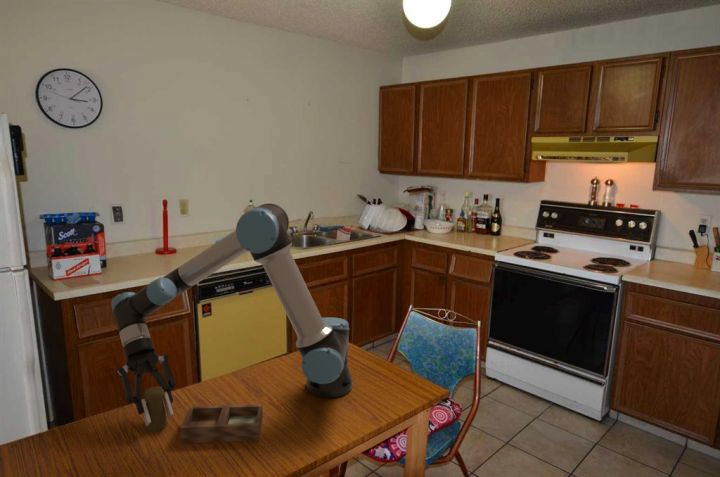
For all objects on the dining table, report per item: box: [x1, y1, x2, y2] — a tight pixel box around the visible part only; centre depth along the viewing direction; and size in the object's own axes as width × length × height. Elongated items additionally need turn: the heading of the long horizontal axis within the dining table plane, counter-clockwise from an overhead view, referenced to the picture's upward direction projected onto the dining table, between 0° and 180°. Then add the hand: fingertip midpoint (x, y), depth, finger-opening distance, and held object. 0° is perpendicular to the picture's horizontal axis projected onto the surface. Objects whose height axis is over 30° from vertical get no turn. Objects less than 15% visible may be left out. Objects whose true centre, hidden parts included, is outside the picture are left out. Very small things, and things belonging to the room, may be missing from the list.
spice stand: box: [179, 403, 264, 444], centre depth 124 cm, size 20×10×4 cm, turn 96°
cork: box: [143, 385, 168, 433], centre depth 125 cm, size 6×6×11 cm
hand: (160, 419), depth 122 cm, fingers closed on cork, 5 cm apart
